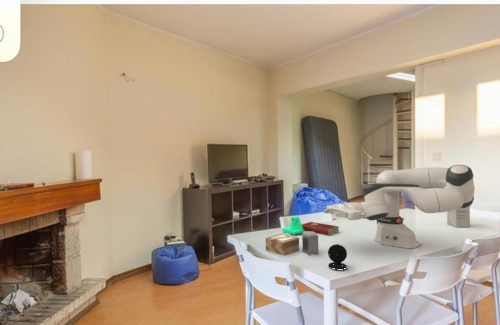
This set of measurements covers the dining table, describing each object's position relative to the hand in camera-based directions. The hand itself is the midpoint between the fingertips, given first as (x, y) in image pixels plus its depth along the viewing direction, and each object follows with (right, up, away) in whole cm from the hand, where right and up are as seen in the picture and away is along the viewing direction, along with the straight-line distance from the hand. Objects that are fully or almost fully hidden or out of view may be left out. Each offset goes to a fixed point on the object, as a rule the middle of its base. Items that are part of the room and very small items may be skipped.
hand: (330, 213), depth 150 cm
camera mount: (-14, -19, +37) cm, 44 cm away
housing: (-10, -19, -2) cm, 22 cm away
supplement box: (+98, -17, +49) cm, 111 cm away
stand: (-24, -19, +4) cm, 31 cm away
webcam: (-3, -20, -22) cm, 29 cm away
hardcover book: (+4, -19, +41) cm, 45 cm away
